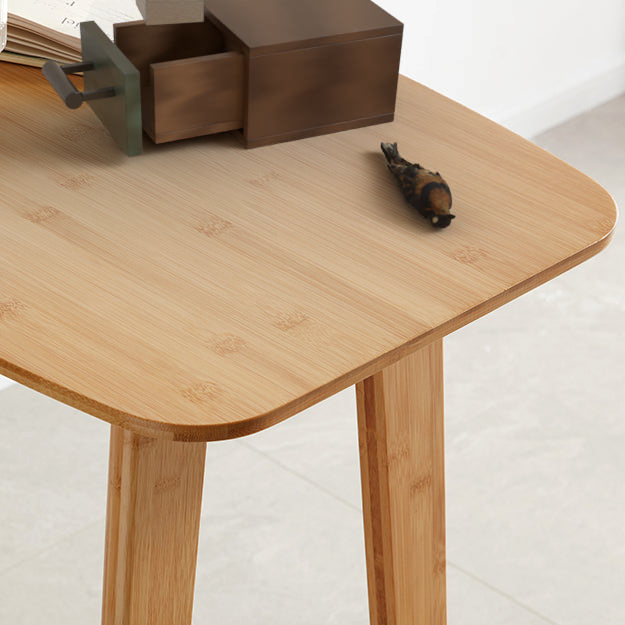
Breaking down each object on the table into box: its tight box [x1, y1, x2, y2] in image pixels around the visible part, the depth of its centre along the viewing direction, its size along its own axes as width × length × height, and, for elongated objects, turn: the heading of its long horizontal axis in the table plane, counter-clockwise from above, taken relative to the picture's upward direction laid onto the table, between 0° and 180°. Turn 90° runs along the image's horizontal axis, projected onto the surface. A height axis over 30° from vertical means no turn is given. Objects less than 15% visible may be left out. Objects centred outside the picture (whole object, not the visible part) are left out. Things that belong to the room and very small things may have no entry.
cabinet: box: [204, 0, 405, 150], centre depth 94 cm, size 14×12×9 cm
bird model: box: [379, 141, 456, 229], centre depth 85 cm, size 3×14×3 cm, turn 14°
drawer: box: [41, 15, 246, 158], centre depth 89 cm, size 16×10×7 cm, turn 117°
